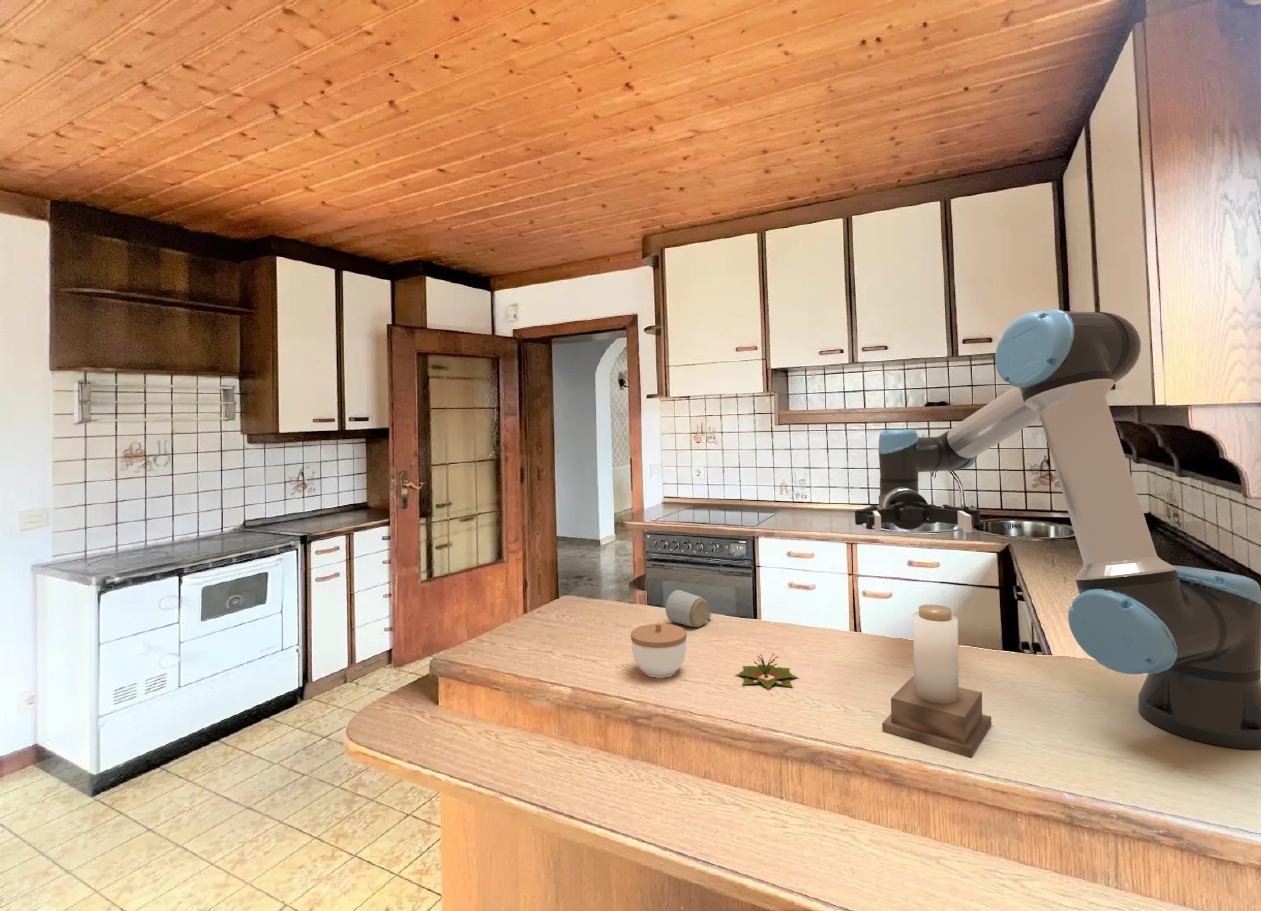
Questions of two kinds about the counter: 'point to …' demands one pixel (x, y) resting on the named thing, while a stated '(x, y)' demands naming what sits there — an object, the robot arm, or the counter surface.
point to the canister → (936, 654)
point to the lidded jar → (659, 649)
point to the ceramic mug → (687, 609)
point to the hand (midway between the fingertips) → (922, 524)
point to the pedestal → (938, 720)
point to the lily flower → (766, 674)
